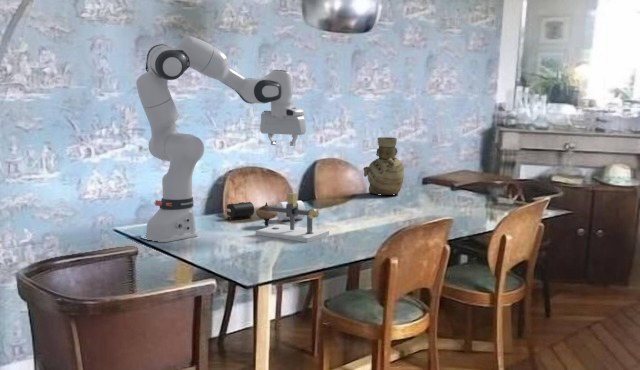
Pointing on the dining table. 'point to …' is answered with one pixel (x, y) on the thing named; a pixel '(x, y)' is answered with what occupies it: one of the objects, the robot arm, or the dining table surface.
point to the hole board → (292, 233)
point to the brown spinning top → (265, 214)
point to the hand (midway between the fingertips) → (283, 145)
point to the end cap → (240, 210)
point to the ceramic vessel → (385, 169)
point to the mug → (282, 215)
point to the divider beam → (310, 214)
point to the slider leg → (291, 208)
